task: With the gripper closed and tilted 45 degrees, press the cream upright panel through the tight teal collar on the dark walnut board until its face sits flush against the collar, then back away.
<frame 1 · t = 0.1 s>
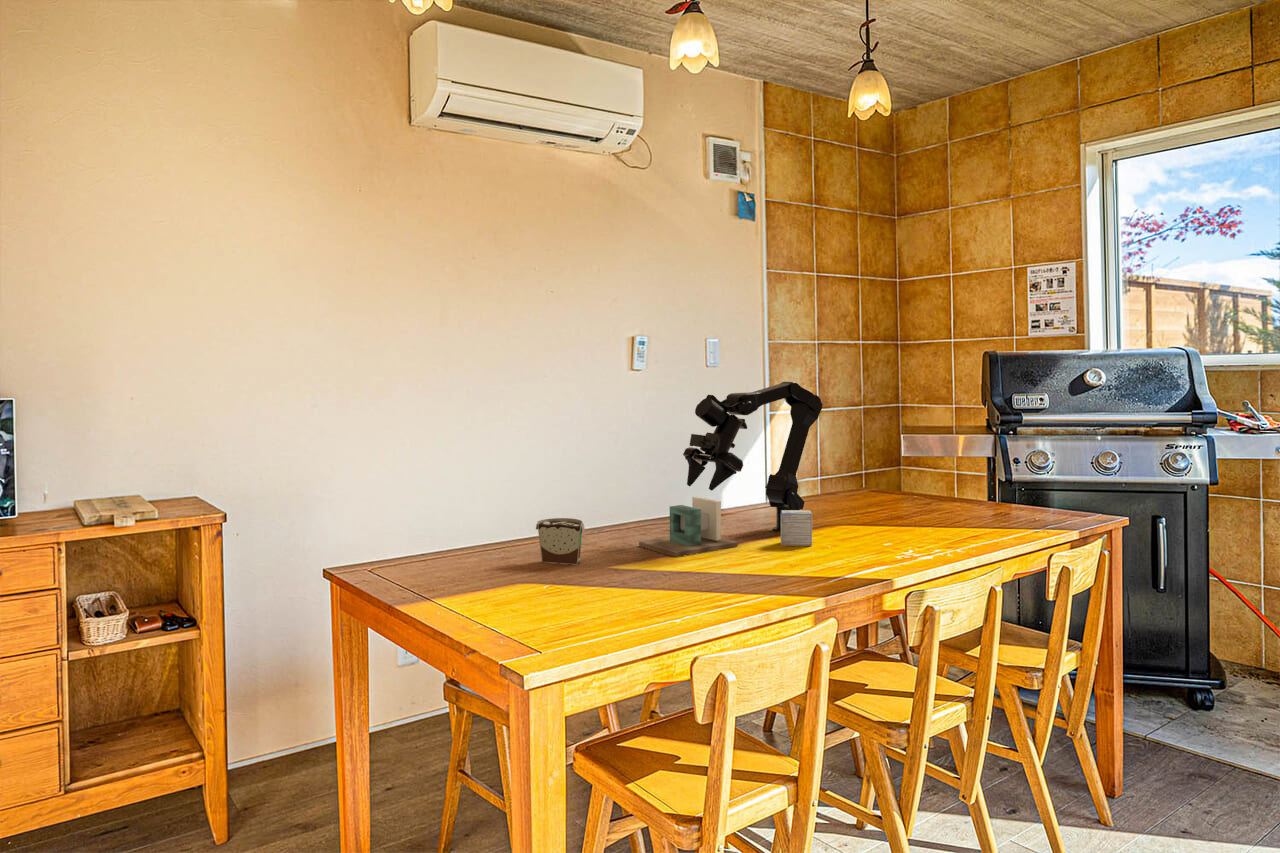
hand: (699, 487, 222), 15 cm above the table, tool tilted 35°, fingers open, 9 cm apart
food container: (564, 561, 206), on the table
cream upright panel: (697, 519, 222), point 7 cm above the table, slide at 4.0 cm
medicine box: (796, 545, 222), on the table
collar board: (691, 545, 221), on the table
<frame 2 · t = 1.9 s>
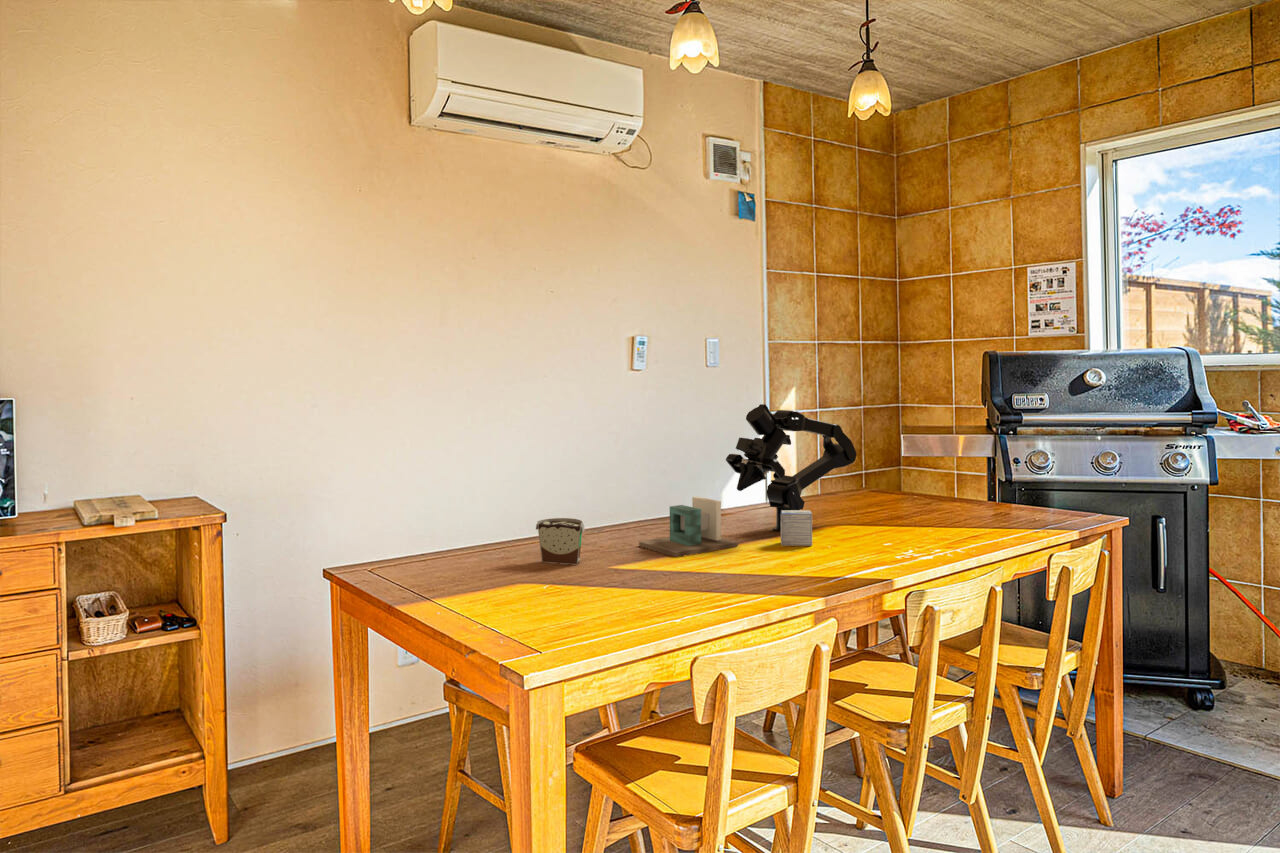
hand: (738, 489, 229), 13 cm above the table, tool tilted 45°, fingers closed
nothing on the table moved.
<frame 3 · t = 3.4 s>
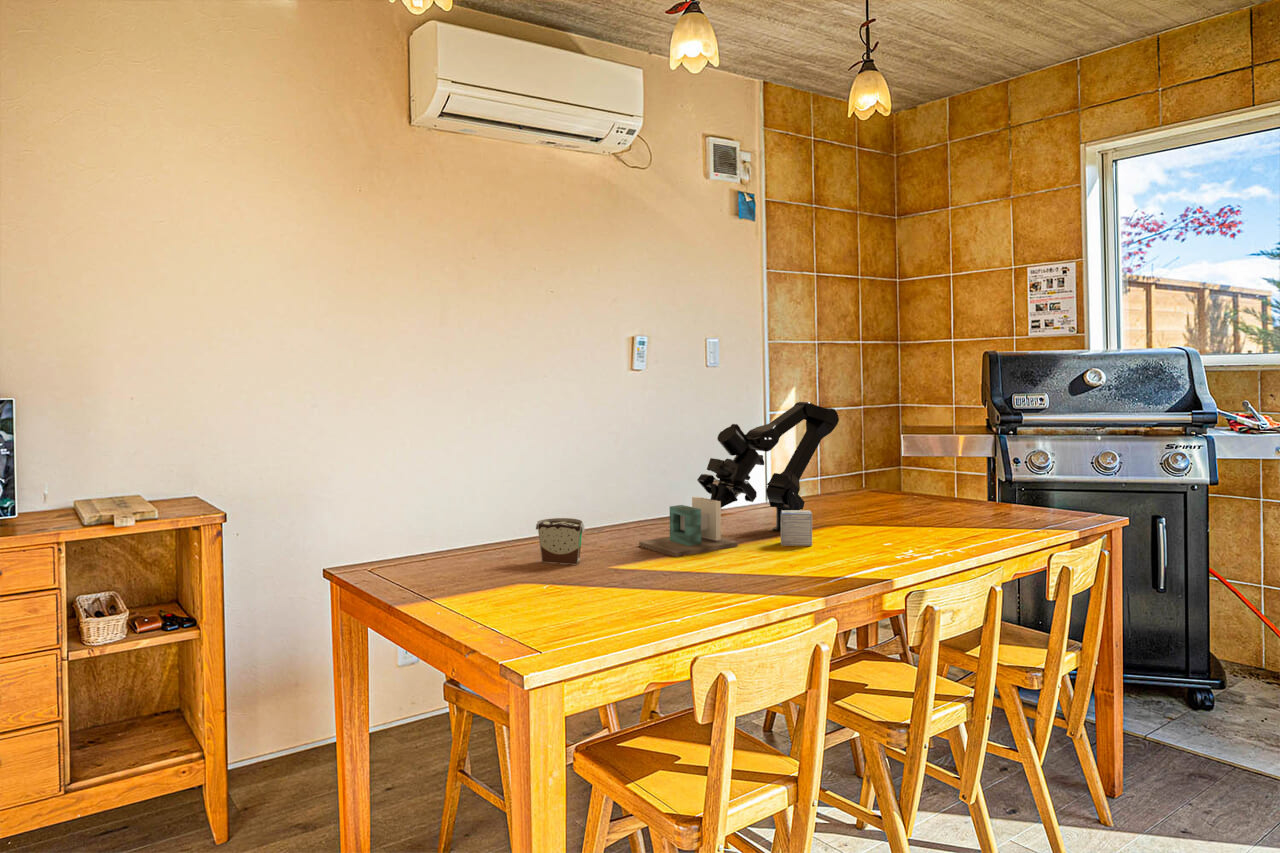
hand: (709, 511, 224), 8 cm above the table, tool tilted 45°, fingers closed, pressing on cream upright panel
cream upright panel: (696, 519, 222), point 7 cm above the table, slide at 3.9 cm, touching gripper
everything else where it was.
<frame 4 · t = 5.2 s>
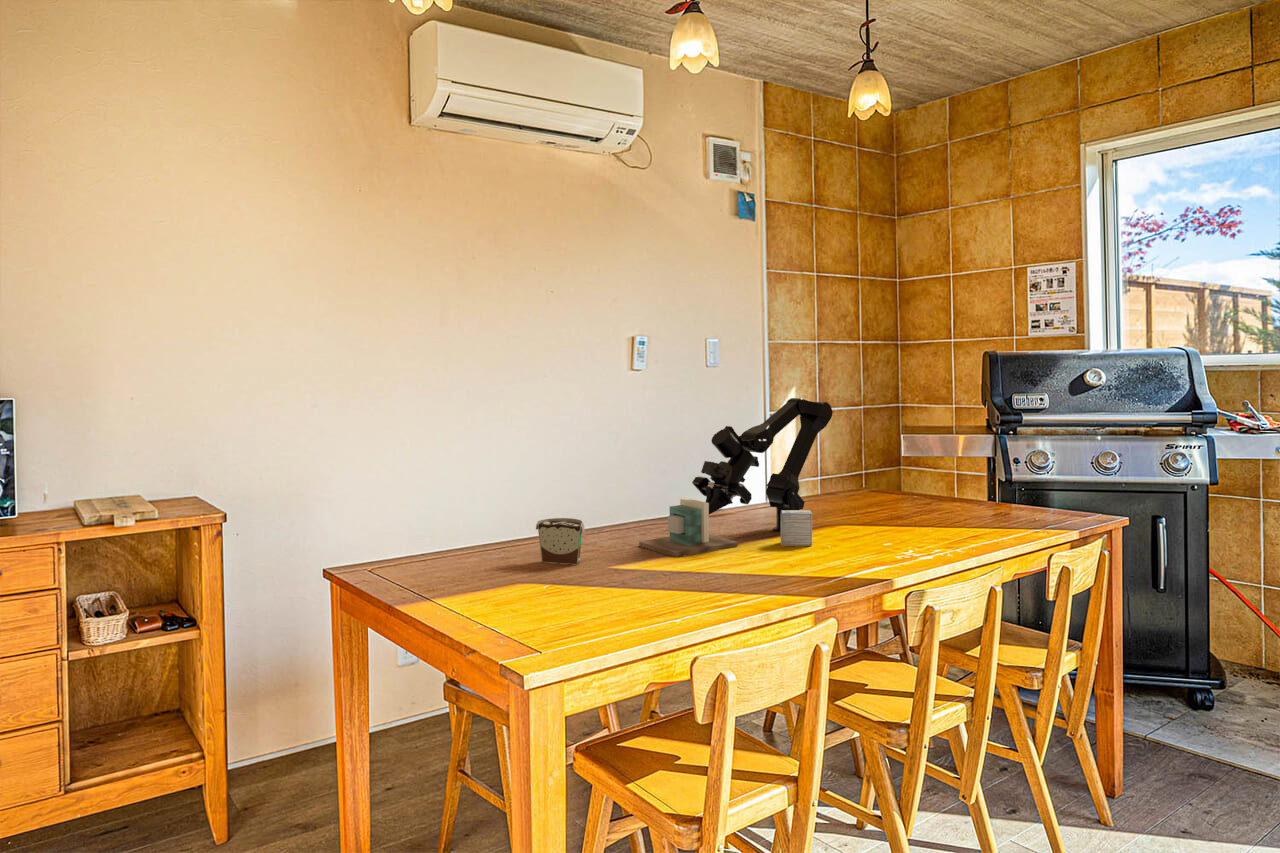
hand: (704, 514, 223), 8 cm above the table, tool tilted 45°, fingers closed
cream upright panel: (684, 521, 220), point 7 cm above the table, slide at -0.1 cm
everything else where it was.
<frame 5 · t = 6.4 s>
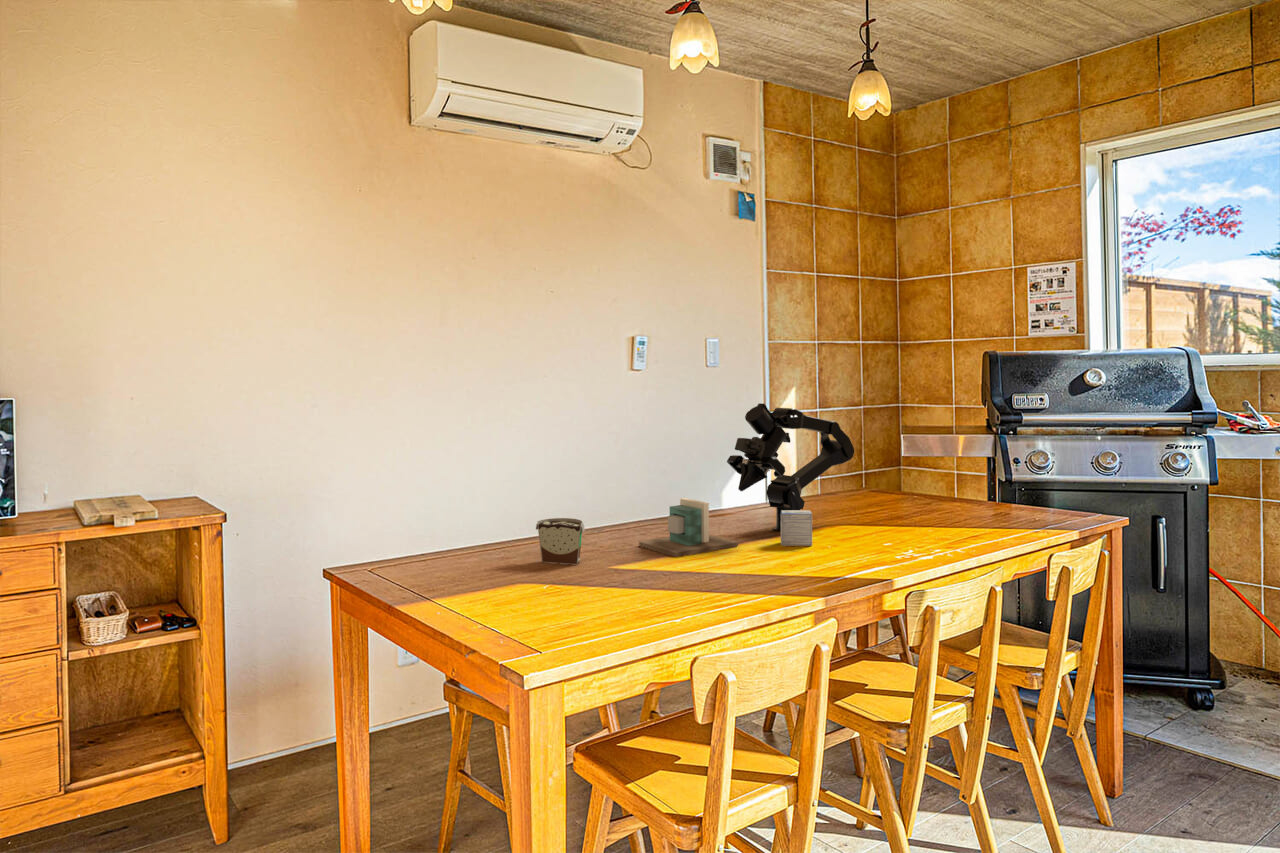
hand: (740, 490, 229), 13 cm above the table, tool tilted 45°, fingers closed
nothing on the table moved.
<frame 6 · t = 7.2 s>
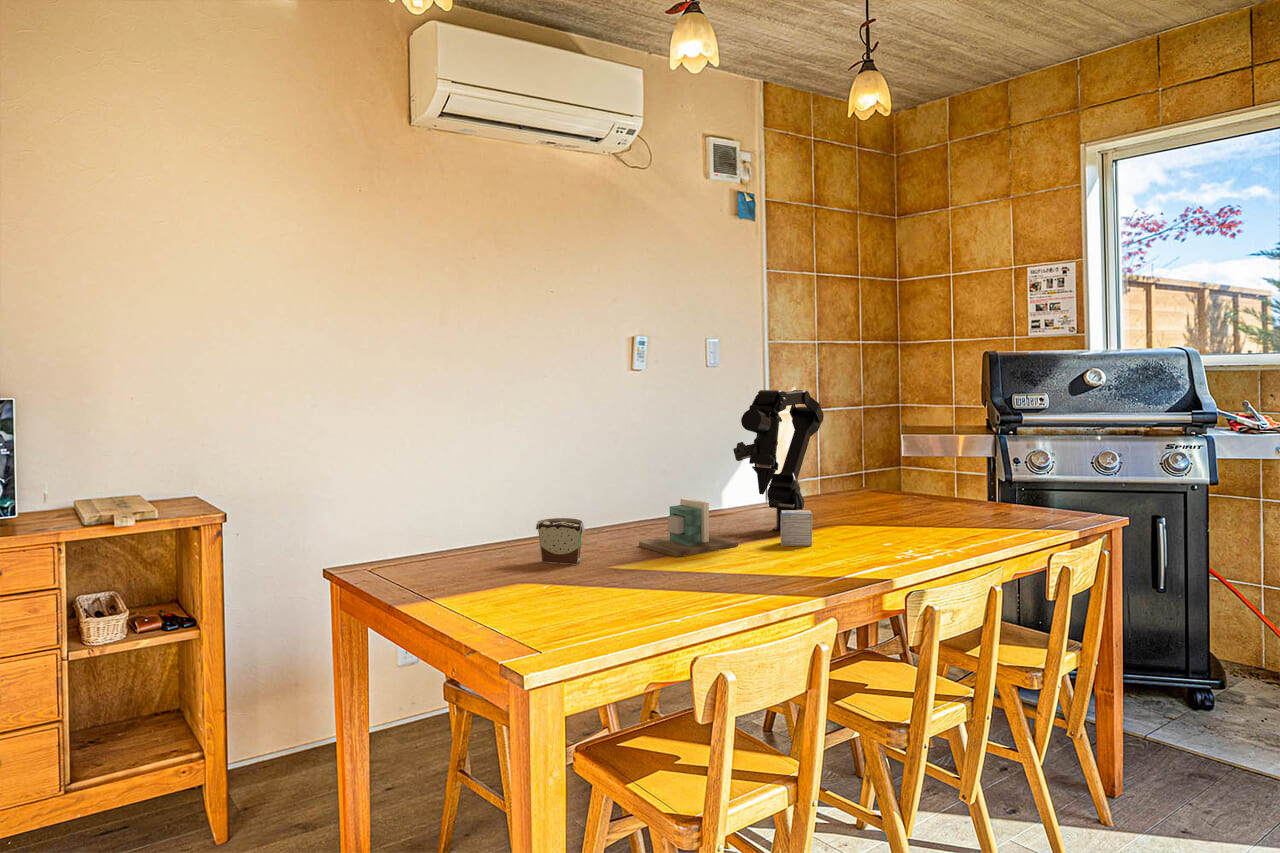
hand: (761, 494, 227), 12 cm above the table, tool pointing down, fingers closed
nothing on the table moved.
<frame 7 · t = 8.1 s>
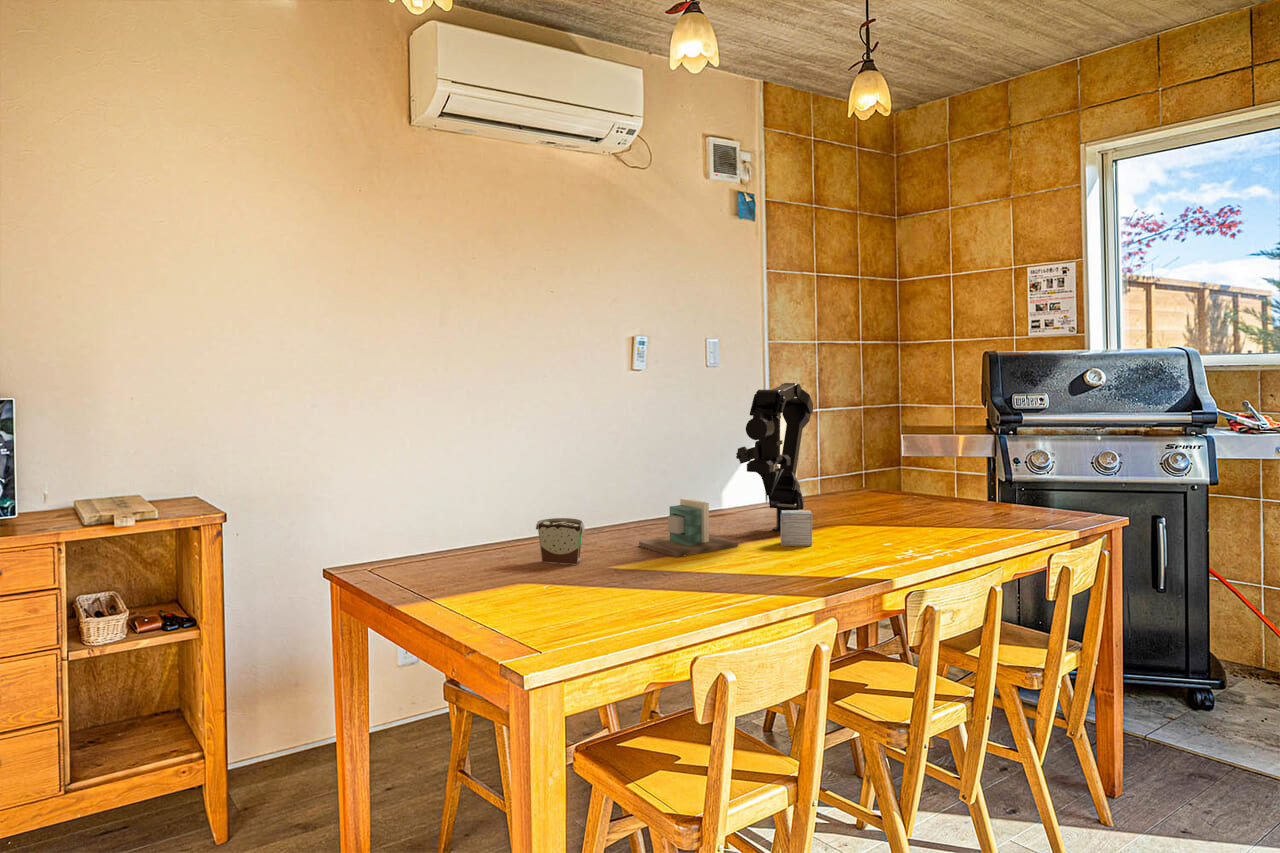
hand: (769, 495, 226), 12 cm above the table, tool pointing down, fingers closed
nothing on the table moved.
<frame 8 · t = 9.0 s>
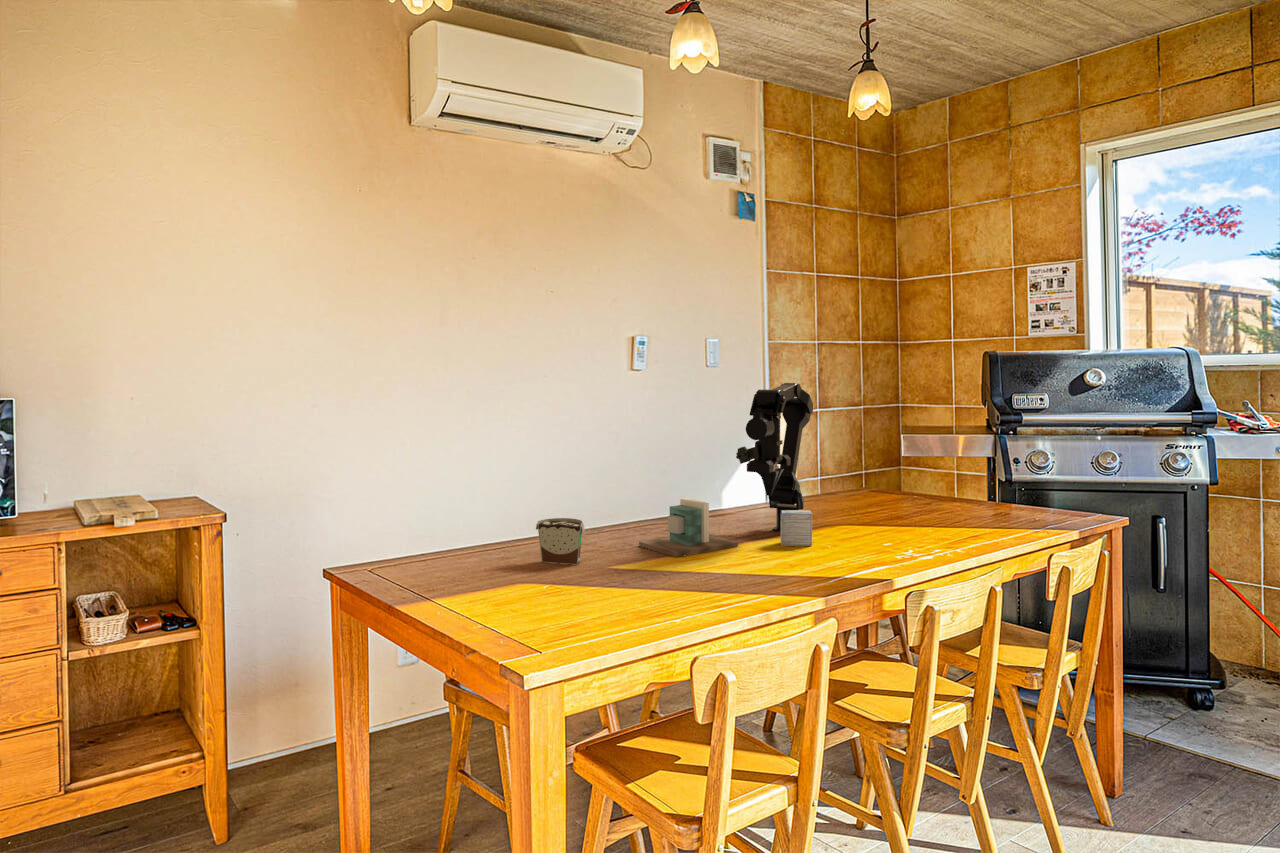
hand: (769, 495, 226), 12 cm above the table, tool pointing down, fingers closed
nothing on the table moved.
at the end: cream upright panel slide at -0.1 cm; medicine box moved 0.3 cm from its start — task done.
